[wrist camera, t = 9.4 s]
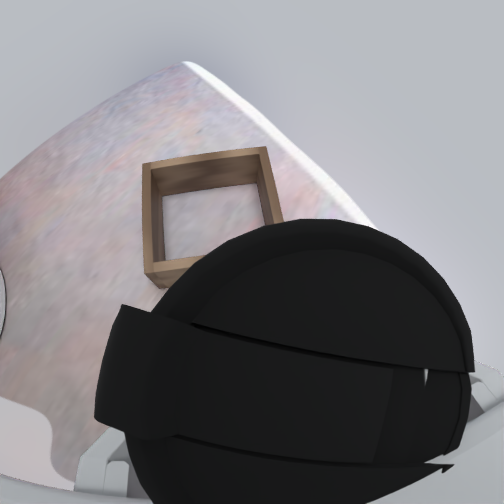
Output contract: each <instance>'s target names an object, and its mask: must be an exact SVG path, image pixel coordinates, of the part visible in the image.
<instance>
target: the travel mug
mask: <svg viewBox="0 0 504 504" xmlns="http://www.w3.org/2000/svg"><path fill="white" fill-rule="evenodd" d="M474 372H475V363H474V353H473V344H472V336H471V330H470V328H469V325H468V323H467V320H466V318H465V315H464V313H463V310H462V308H461V306H460V304H459V302H458V300H457V299H456V297H455V296H454V294H453V292H452V291H451V289H450V288H449V286H448V285H447V283H446V282H445V280H444V279H443V278H442V277H441V275H440V274H439V273H438V272H437V271H436V270H435V269H434V268H433V267H432V266H431V265H430V264H429V263H428V262H427V261H426V260H425V259H424V258H423V257H422V256H421V255H419V254H418V253H416V252H415V251H414V250H412V249H411V248H409V247H408V246H407V245H405V244H404V243H402V242H401V241H399V240H398V239H396V238H394V237H391V236H389V235H387V234H385V233H382V232H380V231H378V230H376V229H373V228H371V227H369V226H364V225H360V224H355V223H351V222H346V221H341V220H337V219H297V220H292V221H287V222H281V223H276V224H271V225H266V226H262V227H260V228H258V229H255V230H253V231H250V232H248V233H245V234H243V235H240V236H238V237H235V238H233V239H231V240H228V241H226V242H225V243H223V244H222V245H220V246H219V247H217V248H216V249H214V250H213V251H211V252H210V253H208V254H207V255H205V256H204V257H202V258H201V259H199V260H198V261H196V262H195V263H194V264H193V265H192V266H191V267H190V268H189V269H188V270H187V271H186V272H185V273H184V274H183V275H182V276H181V277H180V278H179V279H178V280H177V281H176V282H175V283H174V284H173V285H172V286H171V287H170V288H169V289H168V291H167V292H166V293H165V294H164V296H163V297H162V298H161V300H160V301H159V302H158V303H157V305H156V306H155V307H154V309H153V310H152V311H151V312H147V311H144V310H141V309H137V308H134V307H131V306H128V305H124V304H122V305H121V308H120V311H119V313H118V315H117V317H116V319H115V321H114V323H113V326H112V329H111V332H110V336H109V339H108V342H107V346H106V349H105V353H104V356H103V360H102V365H101V369H100V374H99V379H98V385H97V390H96V397H95V411H94V418H95V419H96V420H97V421H98V422H100V423H103V424H105V425H107V426H110V427H112V428H115V429H117V430H120V431H122V432H124V435H125V440H126V444H127V449H128V453H129V457H130V459H131V462H132V465H133V467H134V470H135V473H136V475H137V478H138V480H139V483H140V485H141V486H142V488H143V489H144V491H145V492H146V494H147V495H148V497H149V498H150V500H151V501H152V502H153V504H367V503H369V502H372V501H375V500H377V499H379V498H382V497H384V496H387V495H389V494H391V493H394V492H396V491H398V490H400V489H402V488H405V487H407V486H409V485H411V484H413V483H415V482H417V481H419V480H421V479H423V478H425V477H427V476H429V475H431V474H433V473H434V472H436V471H438V470H440V469H442V473H445V472H446V471H447V470H449V469H450V468H451V467H453V466H454V465H455V464H434V463H425V462H427V461H429V460H432V459H434V458H436V457H438V456H440V455H442V454H443V456H445V455H447V454H449V453H450V452H452V451H454V450H456V449H458V447H459V446H460V443H461V440H462V436H463V433H464V430H465V427H466V424H467V420H468V416H469V409H470V401H471V392H472V387H471V382H470V376H469V373H474Z"/></svg>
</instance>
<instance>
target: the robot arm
mask: <svg viewBox="0 0 504 504" xmlns="http://www.w3.org/2000/svg"><path fill="white" fill-rule="evenodd" d="M4 315H5V286H4V280H3V276H2V273H1V270H0V334H1V330H2V326H3V322H4ZM474 363H475V372H474V373H469V376H470V382H471V387H472V392H471V401H470V409H469V416H468V420H467V424H466V427H465V430H464V433H463V436H462V440H461V443H460V446H459V447H458V449H456V450H454V451H452V452H450V453H449V454H447V455H445V456H443V454H442V455H440V456H438V457H436V458H434V459H432V460H429V461H427V462H425V463H434V464H455V465H454V466H453V467H451V468H450V469H449V470H447V471H446V472H445V473H442V469H440V470H438V471H436V472H434V473H433V474H431V475H429V476H427V477H425V478H423V479H421V480H419V481H417V482H415V483H413V484H411V485H409V486H407V487H405V488H402V489H400V490H398V491H396V492H394V493H391V494H389V495H387V496H384V497H382V498H379V499H377V500H375V501H372V502H369V503H367V504H504V376H503V375H502V374H501V372H500V371H499V370H497V369H495V368H492V367H490V366H487V365H485V364H482V363H480V362H477V361H475V360H474ZM0 504H153V502H152V501H151V500H150V498H149V497H148V495H147V494H146V492H145V491H144V489H143V488H142V486H141V485H140V483H139V480H138V478H137V475H136V473H135V470H134V467H133V465H132V462H131V459H130V457H129V453H128V449H127V444H126V440H125V435H124V432H122V431H120V430H117V429H115V428H112V427H109V428H108V429H107V430H106V431H105V432H104V433H103V434H102V435H101V436H100V438H99V439H98V440H97V441H96V442H95V443H94V444H93V445H92V446H91V447H90V448H89V449H88V450H87V451H86V452H85V453H84V454H83V455H82V456H81V457H80V461H79V465H78V470H77V475H76V480H75V485H74V491H69V490H64V489H58V488H53V487H48V486H44V485H39V484H35V483H31V482H27V481H23V480H20V479H16V478H12V477H9V476H6V475H2V474H0Z"/></svg>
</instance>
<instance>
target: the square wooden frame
mask: <svg viewBox="0 0 504 504" xmlns="http://www.w3.org/2000/svg"><path fill="white" fill-rule="evenodd" d="M250 183H257V186H258V191H259V196H260V201H261V206H262V211H263V216H264V221H265V226H266V225H271V224H276V223H281V222H284V221H283V216H282V212H281V207H280V203H279V198H278V194H277V190H276V185H275V181H274V177H273V173H272V168H271V164H270V160H269V156H268V152H267V148H266V146H264V147H254V148H245V149H236V150H228V151H220V152H213V153H205V154H198V155H192V156H185V157H179V158H173V159H167V160H161V161H155V162H150V163H144V164H142V231H143V258H144V274H145V275H146V276H147V277H148V278H149V279H150V280H151V281H152V282H153V283H154V284H155V285H156V286H157V287H158V288H159V289H161V288H168V287H171V286H172V285H173V284H174V283H175V282H176V281H177V280H178V279H179V278H180V277H181V276H182V275H183V274H184V273H185V272H186V271H187V270H188V269H189V268H190V267H191V266H192V265H193V264H194V263H195V262H196V261H198V260H199V259H201V258H202V257H204V256H205V255H203V256H196V257H189V258H182V259H175V260H168V261H165V247H164V230H163V210H162V196H166V195H172V194H178V193H184V192H191V191H198V190H205V189H212V188H219V187H226V186H234V185H242V184H250Z"/></svg>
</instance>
